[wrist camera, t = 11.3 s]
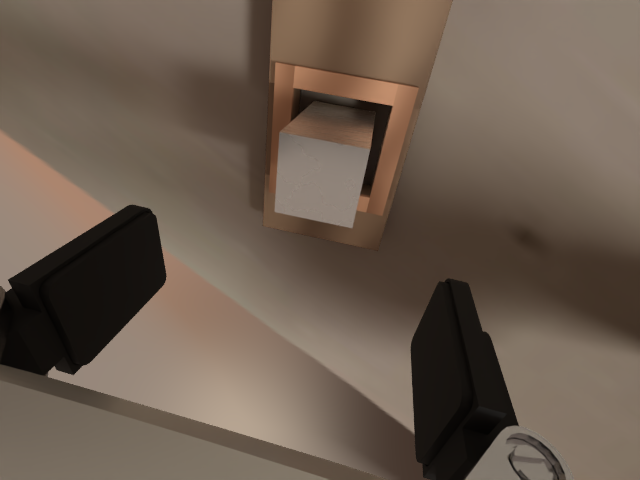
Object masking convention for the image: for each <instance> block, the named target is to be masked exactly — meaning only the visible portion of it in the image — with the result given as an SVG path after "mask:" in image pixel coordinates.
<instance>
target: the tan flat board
mask: <svg viewBox="0 0 640 480" xmlns="http://www.w3.org/2000/svg"><path fill="white" fill-rule="evenodd" d="M452 1H453V0H272V22H271V46H270V69H269V93H268V116H267V140H266V163H265V187H264V210H263V226H265V227H270V228H275V229H279V230H284V231H288V232H293V233H298V234H302V235H307V236H312V237H316V238H321V239H325V240H330V241H335V242H339V243H344V244H348V245H353V246H358V247H362V248H367V249H372V250H376V251H378V249H379V246H380V242H381V239H382V236H383V232H384V229H385V225H386V222H387V219H388V215H389V212H390V209H391V205H392V202H393V199H394V195H395V192H396V189H397V185H398V182H399V179H400V175H401V172H402V169H403V165H404V162H405V159H406V155H407V152H408V148H409V145H410V142H411V138H412V135H413V132H414V128H415V125H416V122H417V118H418V115H419V112H420V108H421V105H422V102H423V98H424V95H425V92H426V88H427V85H428V82H429V78H430V75H431V72H432V68H433V65H434V61H435V58H436V55H437V51H438V48H439V45H440V41H441V38H442V35H443V31H444V28H445V25H446V21H447V18H448V15H449V11H450V8H451V5H452ZM301 89H303V90H309V91H314V92H320V93H325V94H330V95H336V96H341V97H347V98H352V99H358V100H363V101H369V102H374V103H380V104H385V105H391V107H390V111H389V116H388V120H387V124H386V128H385V132H384V136H383V140H382V144H381V148H380V152H379V156H378V160H377V164H376V168H375V172H374V176H373V180H372V184H371V185H367V184H362V188H361V192H360V197H359V201H358V205H357V210H356V214H355V219H354V223H353V227H352V228H348V227H344V226H339V225H334V224H329V223H325V222H320V221H315V220H310V219H306V218H301V217H296V216H291V215H286V214H282V213H277V212H275V196H276V180H277V164H278V148H279V132H280V131H281V130H282V129H283V128H285V127H286V126H287V125H288V124H289V123H290V122H291V121H292V120H294V119H295V118H296V117H297V116H298V115H299V104H300V94H301Z"/></svg>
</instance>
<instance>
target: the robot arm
mask: <svg viewBox="0 0 640 480" xmlns="http://www.w3.org/2000/svg"><path fill="white" fill-rule="evenodd" d="M8 281H9V283H10V285H11V287H12V289H10V290H9V291H7V292H5V290H4V289H3V288H2V287H1V286H0V480H388V479H385V478H382V477H379V476H376V475H373V474H370V473H367V472H363V471H360V470H357V469H354V468H351V467H348V466H345V465H342V464H339V463H335V462H332V461H329V460H325V459H322V458H319V457H315V456H312V455H309V454H306V453H302V452H299V451H296V450H292V449H289V448H286V447H282V446H279V445H276V444H273V443H269V442H266V441H263V440H259V439H256V438H252V437H249V436H246V435H242V434H239V433H236V432H233V431H229V430H226V429H223V428H219V427H216V426H212V425H209V424H206V423H202V422H199V421H195V420H192V419H188V418H185V417H182V416H179V415H175V414H172V413H168V412H165V411H161V410H158V409H155V408H152V407H148V406H144V405H141V404H138V403H134V402H131V401H127V400H124V399H121V398H117V397H114V396H111V395H107V394H104V393H100V392H97V391H93V390H90V389H87V388H83V387H80V386H76V385H73V384H69V383H66V382H62V381H59V380H55V379H52V378H48V371H49V370H51V368H52V367H54V366H55V367H56V369H57V370H58V371H62V372H65V373H68V374H72V375H74V374H75V373H76V372H77V371H78V370H79V369H80V368H81V367H82V366H83V365H87V364H88V363H90V362H91V361H92V360H93V359H94V358H95V357H96V356H97V355H98V353H100V352H101V351H102V349H103V348H104V347H105V346H106V345H107V344H108V343H109V342H110V341H111V340H112V339H113V338H114V337H115V336H116V335H117V334H118V333H119V332H120V331H121V329H122V328H123V327H124V326H125V325H126V324H127V323H128V322H129V321H130V320H131V319H132V318H133V317H134V316H135V315H136V314H137V312H139V310H140V309H141V308H142V307H143V306H144V305H145V304H146V303H147V302H148V301H149V300H150V299H151V298H152V297H153V296H154V295H155V294H156V293H157V292H158V290H159V289H160V288H161V287H162V286H163V285H164V283H165V281H166V270H165V265H164V259H163V253H162V247H161V241H160V236H159V230H158V224H157V218H156V216H155V215H154V214H153V213H152V211H151V210H150V209H149V208H145V207H141V206H136V205H129V206H127V207H125V208H124V209H122V210H120V211H119V212H117V213H116V214H114V215H112V216H111V217H109V218H107V219H106V220H104V221H103V222H101V223H99V224H98V225H96V226H95V227H93V228H91V229H90V230H88V231H86V232H85V233H83V234H82V235H80V236H78V237H77V238H75V239H73V240H72V241H70V242H69V243H67V244H65V245H64V246H62V247H61V248H59V249H57V250H56V251H54V252H53V253H51V254H49V255H48V256H46V257H44V258H43V259H41V260H39V261H38V262H36V263H35V264H33V265H31V266H30V267H28V268H27V269H25V270H23V271H22V272H20V273H18V274H17V275H15V276H14V277H12V278H10V279H9V280H8ZM411 366H412V387H413V408H414V429H415V449H416V459H417V462H419V463H422V464H423V477H424V478H427V479H430V480H574V478H573V475H572V473H571V471H570V469H569V466H568V464H567V463H566V461H565V460H564V458H563V457H562V456H561V454H560V453H559V451H558V450H557V449H556V448H555V447H554V446H553V445H552V444H551V443H550V442H549V441H548V440H546V439H545V438H543V437H542V436H541V435H539V434H538V433H536V432H534V431H532V430H530V429H528V428H526V427H520V426H519V425H518V422H517V419H516V415H515V412H514V409H513V406H512V403H511V400H510V397H509V393H508V390H507V387H506V384H505V381H504V378H503V375H502V372H501V368H500V365H499V362H498V359H497V356H496V353H495V350H494V346H493V343H492V340H491V338H490V336H489V334H488V333H487V332H483V331H482V328H481V324H480V321H479V318H478V314H477V311H476V308H475V304H474V301H473V298H472V294H471V291H470V287H469V285H468V283H466V282H462V281H457V280H453V279H449V278H448V279H446V280H445V282H441V281H440V282H439V283H438V284H437V287H436V289H435V291H434V293H433V295H432V297H431V300H430V302H429V304H428V306H427V308H426V310H425V313H424V315H423V317H422V319H421V321H420V323H419V326H418V328H417V330H416V332H415V334H414V336H413V339H412V342H411Z"/></svg>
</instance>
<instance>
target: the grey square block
mask: <svg viewBox="0 0 640 480" xmlns="http://www.w3.org/2000/svg"><path fill="white" fill-rule="evenodd" d="M375 114H376V112H373V111H368V110H362V109H357V108H351V107H346V106H340V105H335V104H329V103H324V102H318V101H314V102H313V103H311V104H310V105H309V106H308V107H307V108H306V109H305V110H304V111H302V112H301V113H300V114H299V115H298V116H297V117H296V118H295V119H294V120H292V121H291V122H290V123H289V124H288V125H287V126H286V127H285V128H283V129H282V130H281V131H280V132H279V148H278V164H277V180H276V196H275V212H277V213H282V214H286V215H291V216H296V217H301V218H306V219H310V220H315V221H320V222H325V223H329V224H334V225H339V226H344V227H348V228H352V227H353V223H354V219H355V214H356V210H357V205H358V201H359V197H360V192H361V188H362V183H363V179H364V175H365V170H366V166H367V161H368V157H369V153H370V148H371V141H372V134H373V127H374V121H375Z"/></svg>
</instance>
